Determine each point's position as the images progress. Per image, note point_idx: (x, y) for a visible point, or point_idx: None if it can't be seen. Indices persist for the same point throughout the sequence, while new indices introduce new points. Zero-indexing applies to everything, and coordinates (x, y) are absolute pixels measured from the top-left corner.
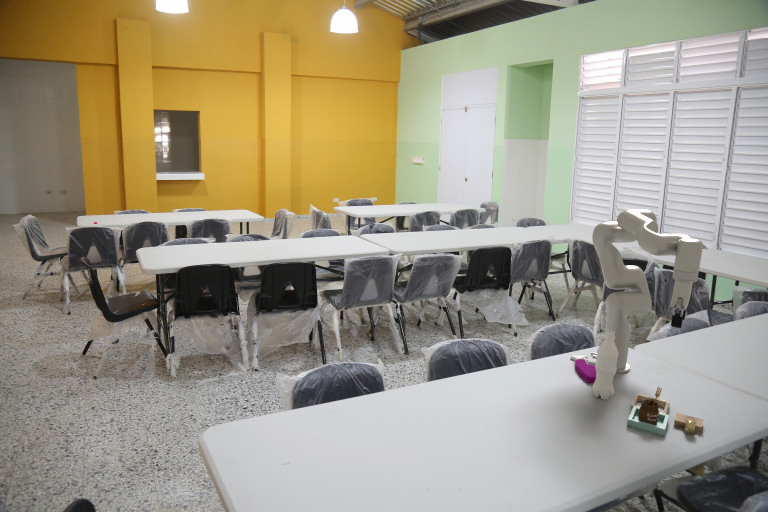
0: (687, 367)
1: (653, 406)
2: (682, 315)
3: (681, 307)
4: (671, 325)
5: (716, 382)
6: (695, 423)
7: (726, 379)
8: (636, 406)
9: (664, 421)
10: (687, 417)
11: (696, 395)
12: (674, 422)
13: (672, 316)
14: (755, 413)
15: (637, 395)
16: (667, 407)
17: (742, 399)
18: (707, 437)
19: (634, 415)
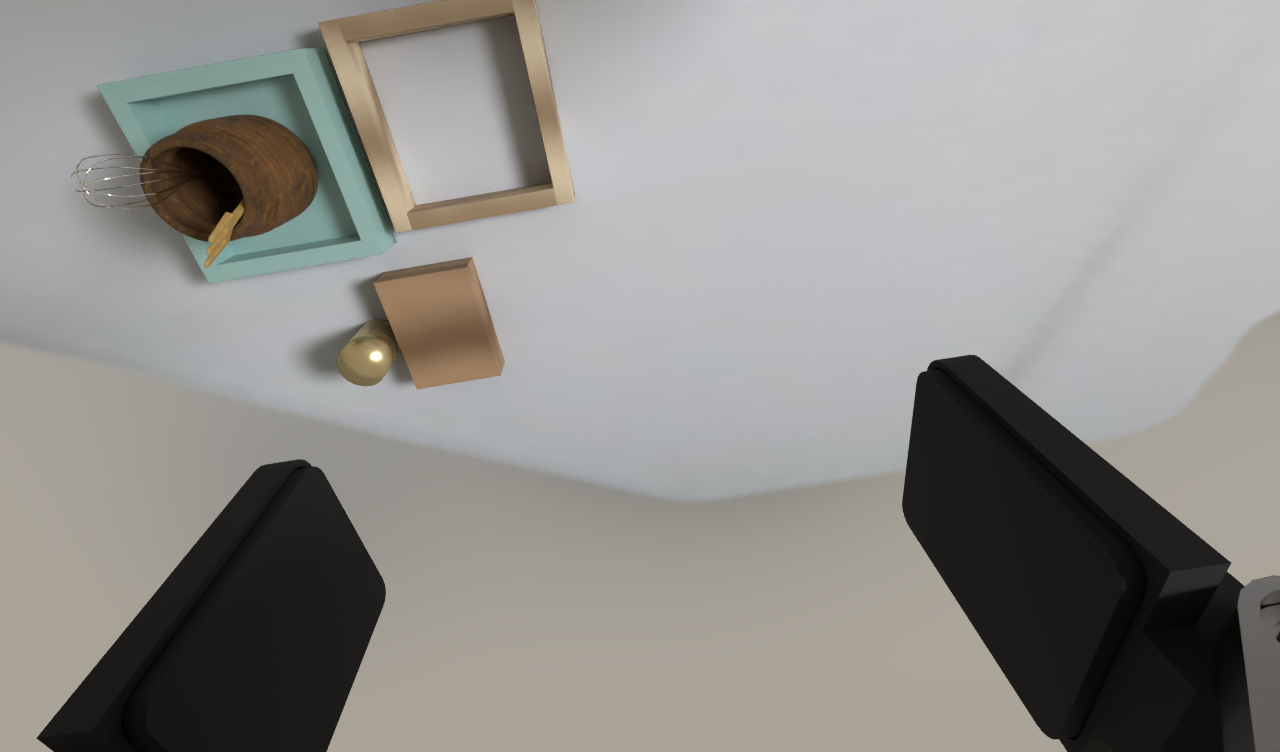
0: (1232, 117)
1: (170, 223)
2: (957, 558)
3: (1153, 731)
4: (262, 481)
5: (1052, 297)
6: (361, 385)
7: (1115, 323)
8: (335, 60)
9: (290, 256)
10: (459, 320)
11: (821, 263)
12: (378, 279)
13: (80, 694)
14: (782, 473)
15: (498, 5)
16: (488, 213)
17: (898, 417)
18: (411, 400)
19: (259, 80)
